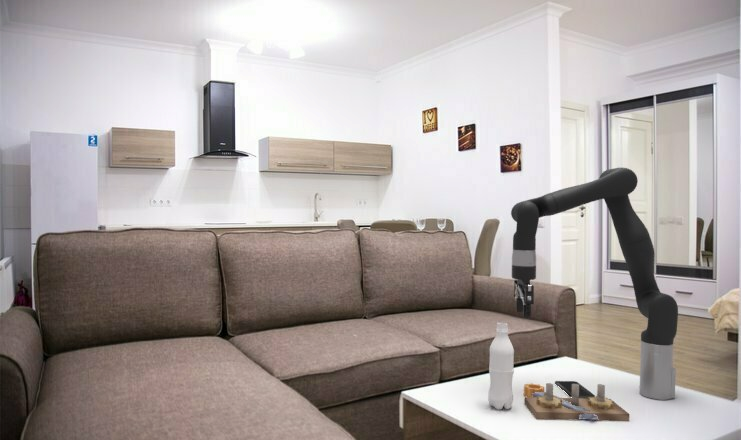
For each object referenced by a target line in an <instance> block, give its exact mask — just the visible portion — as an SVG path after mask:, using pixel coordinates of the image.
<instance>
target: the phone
mask: <svg viewBox="0 0 741 440" xmlns="http://www.w3.org/2000/svg"><path fill="white" fill-rule="evenodd" d="M555 384H556V385H557V386H556V385H555ZM572 384H578V385H579V398H588V397H591V398H592V397H594V396H596V395H595V394H593V393H592V392H591V391H590V390H588V389H587V388H586V387H585V386H583V385H582V384H581V383H579V382H578V381H576V380H574V381H573V380H555V381H554V385H555V386H556V387H558V386H559V387H560V388H561V389H562V390H564V391H565V392H566V393H567V394H568V395H569V396H570V397H572ZM559 387H558V388H559ZM560 388H559V389H560ZM561 389H560V390H561ZM562 390H561V391H562ZM565 392H564V393H565ZM566 393H565V394H566ZM567 394H566V395H567ZM568 395H567V396H568ZM569 396H568V397H569ZM570 397H569V398H570Z"/></svg>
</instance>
